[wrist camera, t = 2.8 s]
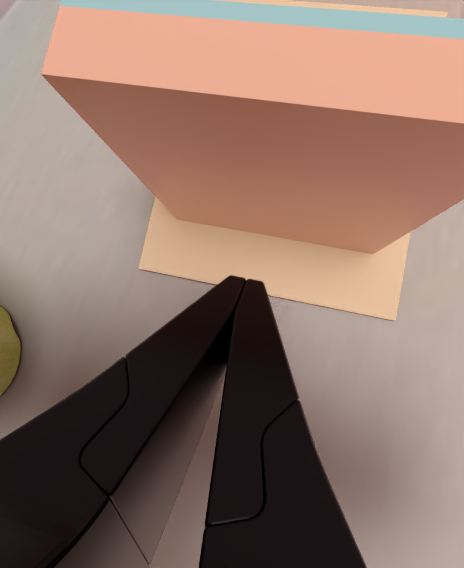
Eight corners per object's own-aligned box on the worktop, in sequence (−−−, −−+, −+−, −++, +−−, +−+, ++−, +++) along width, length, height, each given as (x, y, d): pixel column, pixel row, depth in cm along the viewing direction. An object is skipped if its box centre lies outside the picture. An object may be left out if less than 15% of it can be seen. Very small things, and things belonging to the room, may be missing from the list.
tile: (373, 254, 15) (567, 135, 5) (177, 219, 17) (41, 74, 7) (380, 214, 15) (582, 25, 5) (185, 182, 17) (65, -12, 7)
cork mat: (392, 320, 15) (395, 320, 15) (140, 269, 17) (137, 268, 16) (444, 17, 16) (447, 11, 16) (204, -1, 18) (203, -6, 18)
